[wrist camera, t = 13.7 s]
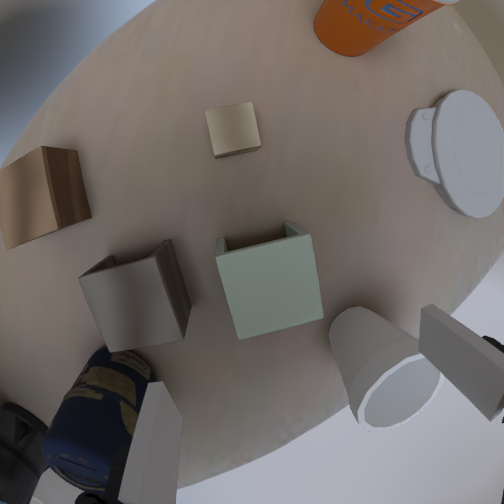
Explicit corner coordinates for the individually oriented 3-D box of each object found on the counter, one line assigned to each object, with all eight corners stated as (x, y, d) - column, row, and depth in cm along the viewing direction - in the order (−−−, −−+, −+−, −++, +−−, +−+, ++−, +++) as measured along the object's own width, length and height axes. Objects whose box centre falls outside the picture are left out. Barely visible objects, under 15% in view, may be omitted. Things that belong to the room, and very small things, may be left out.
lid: (396, 74, 26) (410, 67, 23) (491, 109, 27) (504, 107, 25) (403, 213, 30) (417, 217, 27) (495, 217, 32) (508, 220, 29)
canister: (97, 329, 30) (26, 435, 12) (168, 361, 31) (139, 488, 14) (87, 381, 31) (38, 479, 14) (150, 408, 33) (125, 517, 16)
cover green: (235, 306, 30) (238, 340, 24) (217, 238, 28) (215, 257, 22) (303, 288, 31) (323, 317, 24) (290, 221, 29) (310, 233, 22)
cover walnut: (42, 236, 26) (6, 250, 20) (28, 174, 24) (-10, 177, 18) (91, 217, 27) (58, 229, 20) (77, 150, 25) (41, 145, 18)
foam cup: (350, 280, 31) (414, 335, 18) (397, 314, 33) (458, 368, 20) (300, 344, 32) (335, 422, 20) (352, 370, 34) (394, 437, 22)
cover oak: (130, 319, 30) (109, 352, 23) (107, 256, 28) (78, 278, 21) (191, 306, 30) (183, 340, 23) (170, 239, 28) (154, 257, 21)
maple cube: (215, 158, 27) (214, 155, 23) (207, 120, 26) (204, 111, 22) (256, 150, 27) (261, 145, 23) (248, 112, 26) (251, 101, 22)
